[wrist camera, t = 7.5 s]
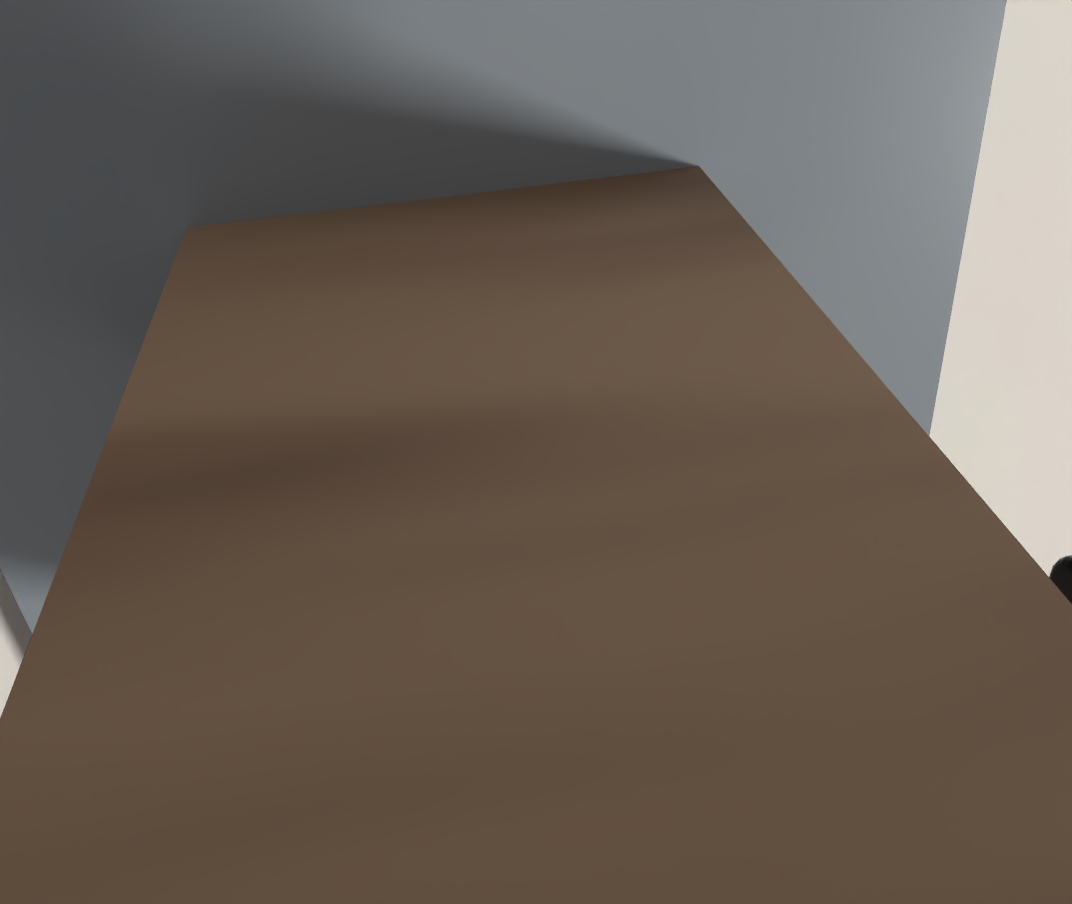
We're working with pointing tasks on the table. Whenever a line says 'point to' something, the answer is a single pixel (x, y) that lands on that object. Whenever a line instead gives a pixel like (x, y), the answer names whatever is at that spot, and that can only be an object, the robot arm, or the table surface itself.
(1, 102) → the coaster
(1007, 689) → the walnut block
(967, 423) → the table surface
